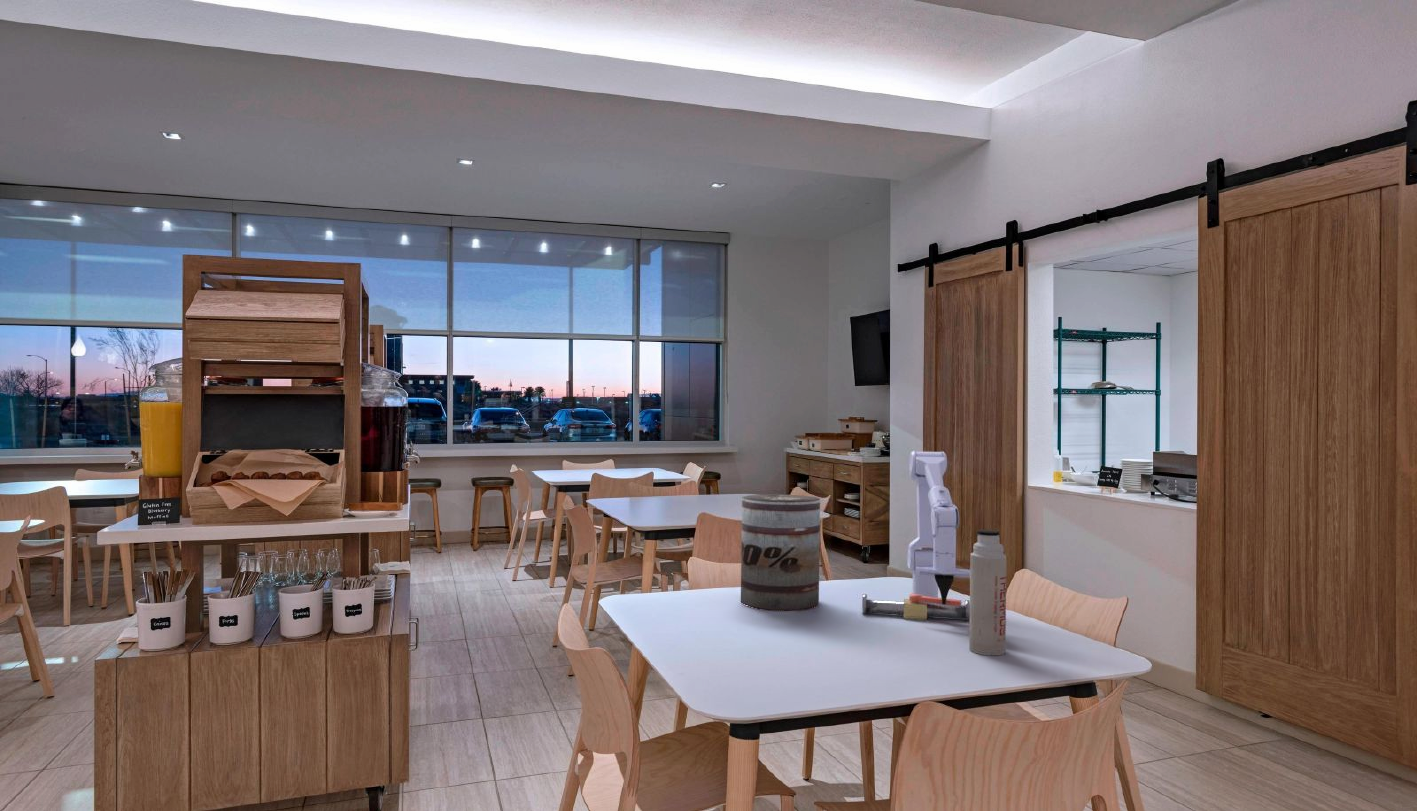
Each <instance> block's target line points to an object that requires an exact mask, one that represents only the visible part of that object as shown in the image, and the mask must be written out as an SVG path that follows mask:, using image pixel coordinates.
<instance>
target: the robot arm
mask: <svg viewBox="0 0 1417 811" xmlns="http://www.w3.org/2000/svg"><path fill="white" fill-rule="evenodd" d="M908 463H909V464H908V466H909V468H908V472H909V474H908V475H909V479H910V480H912V481H914V482H915V486H916V515H917V516H916V517H917V518H916V520H917V537H916V538H915V539H914V540H912V541H911V542H910V543H909V544H908V546H907V555H906V561H907V562H906V563H907V568H908V569H909V571H911V572H912V594H919V595H922V596H928V597H937V598H939V592H940V598H942V605H946V599H948V598H947V597H948V595H949V591H950V589H951V586H952V585H953V583H954V581H955V580H954V579H955V578H968V579H970V569H966V568H956V567H957V566H956V556H957V555H956V554H957V550H956V549H957V548H956V547H957V530H958V528H959V526H960V525H959V524H960V513H959V512H960V511H959V509H958V507H957V506H956V504H953V501H952V497H951V493H950V491H949V489H948V488H947V487H945V486H944V478H943V476H944V474H945V472H946V471H947V468H948V467H947V466H948V459H947V454H946V453H945V452H944V451H916V450H913V451H911V452H910V453H909V461H908ZM919 548H920V549H919ZM923 548H924V549H923ZM928 548H929V549H928ZM933 604H935V603H933Z"/></svg>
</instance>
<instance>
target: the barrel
mask: <svg viewBox="0 0 1417 811" xmlns="http://www.w3.org/2000/svg"><path fill="white" fill-rule="evenodd" d="M820 528H821V499H820V498H819V497H817V496H809V495H798V494H773V493H772V494H752V495H751V494H750V495H745V496H742V498H741V541H740V542H741V549H740V550H741V552H740V554H741V555H740V557H741V558H740V559H741V560H740V603H741V604H742V603H743V604H745V605H748V606H750V607H749V608H751V607H753V608H752V609H755V608H757V609H756V610H760V609H762V611H769V612H771V611H772V612H799V611H800V612H801V611H807V610H812V609H815V608H816V606H817V605H818V604H819V603H820V547H821V546H820V545H821V544H820V543H821V542H820V540H821V539H820V537H821V534H820V533H821V532H820V531H821V529H820ZM743 604H742V605H743ZM745 605H744V606H745ZM819 605H820V604H819ZM819 605H818V606H819ZM748 606H747V607H748ZM818 606H817V607H818ZM814 607H815V608H814Z"/></svg>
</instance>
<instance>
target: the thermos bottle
mask: <svg viewBox="0 0 1417 811" xmlns="http://www.w3.org/2000/svg"><path fill="white" fill-rule="evenodd" d="M976 534H978V535H977V542H976V543H975V542H974V544H973V547H972V548H973V552H971V553H970V559H969V560H970V562H969V563H970V564H969V570H970V578H969V602H970V620H969V637H968V638H969V640H968V641H969V645H968V646H969V647H968V648H969V651H970V652H972V651H973V652H972V653H974V652H976V653H975V654H977V653H980V654H979V655H982V654H986V655H985V656H990V655H996V656H1002V655H1001V654H1003V655H1004V653H1005V654H1006V639H1007V638H1006V636H1007V635H1006V632H1007V630H1006V629H1007V628H1006V626H1007V625H1006V624H1007V617H1006V616H1007V613H1006V612H1007V555H1006V554H1004V551H1005V549H1004V545H1003V544H1001V543H1000V531H998V530H994V529H979V530H977V532H976Z"/></svg>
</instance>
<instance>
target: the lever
mask: <svg viewBox="0 0 1417 811" xmlns="http://www.w3.org/2000/svg"><path fill="white" fill-rule="evenodd" d="M908 596H909V598H908V599H909V600H910V601H914V602H926V603H935V604H942V597H938V598H937V597H928V596H922V595H919V594H913V593H910V594H909V595H908ZM946 605H951V606H961V605H962V600H961V599H953V598H946Z"/></svg>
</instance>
